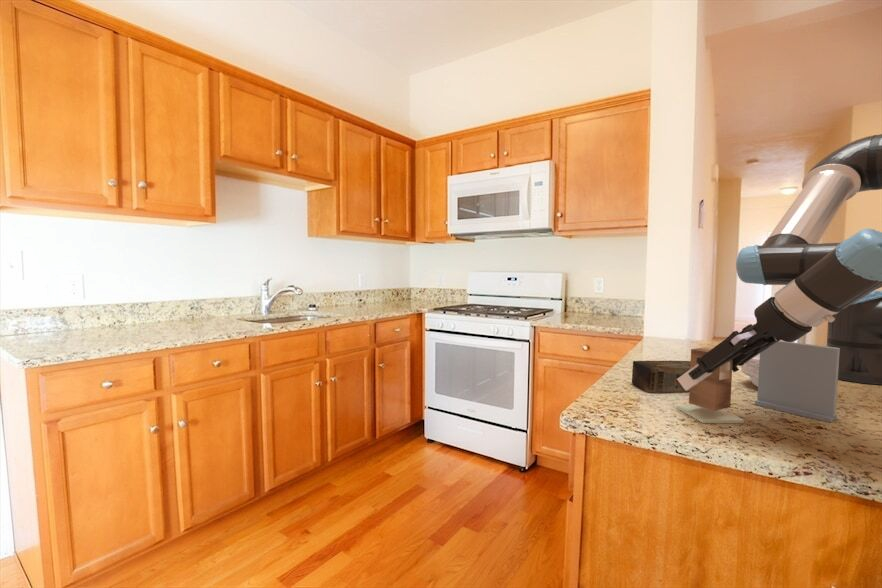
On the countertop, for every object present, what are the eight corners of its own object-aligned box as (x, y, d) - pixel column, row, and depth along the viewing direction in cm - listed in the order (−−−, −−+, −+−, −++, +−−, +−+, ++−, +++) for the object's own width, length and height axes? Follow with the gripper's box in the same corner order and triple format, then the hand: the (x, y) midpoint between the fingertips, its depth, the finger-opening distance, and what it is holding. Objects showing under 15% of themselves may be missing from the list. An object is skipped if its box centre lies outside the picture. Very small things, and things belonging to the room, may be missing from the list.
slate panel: (754, 404, 86) (758, 340, 85) (762, 401, 88) (765, 338, 87) (830, 422, 76) (835, 349, 75) (837, 418, 78) (841, 347, 77)
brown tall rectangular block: (704, 399, 83) (706, 347, 82) (730, 407, 79) (733, 351, 78) (689, 403, 81) (691, 349, 80) (715, 411, 77) (717, 354, 76)
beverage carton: (725, 392, 95) (726, 365, 95) (647, 394, 94) (648, 367, 93) (701, 383, 103) (702, 357, 103) (629, 384, 102) (630, 359, 101)
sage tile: (714, 408, 84) (714, 405, 84) (743, 422, 76) (744, 419, 76) (676, 408, 84) (676, 405, 84) (702, 423, 76) (702, 420, 76)
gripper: (782, 333, 61) (674, 406, 77) (838, 325, 69) (730, 393, 85) (745, 296, 65) (650, 372, 81) (801, 293, 73) (705, 362, 89)
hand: (691, 382), depth 83 cm, fingers closed on brown tall rectangular block, 5 cm apart
